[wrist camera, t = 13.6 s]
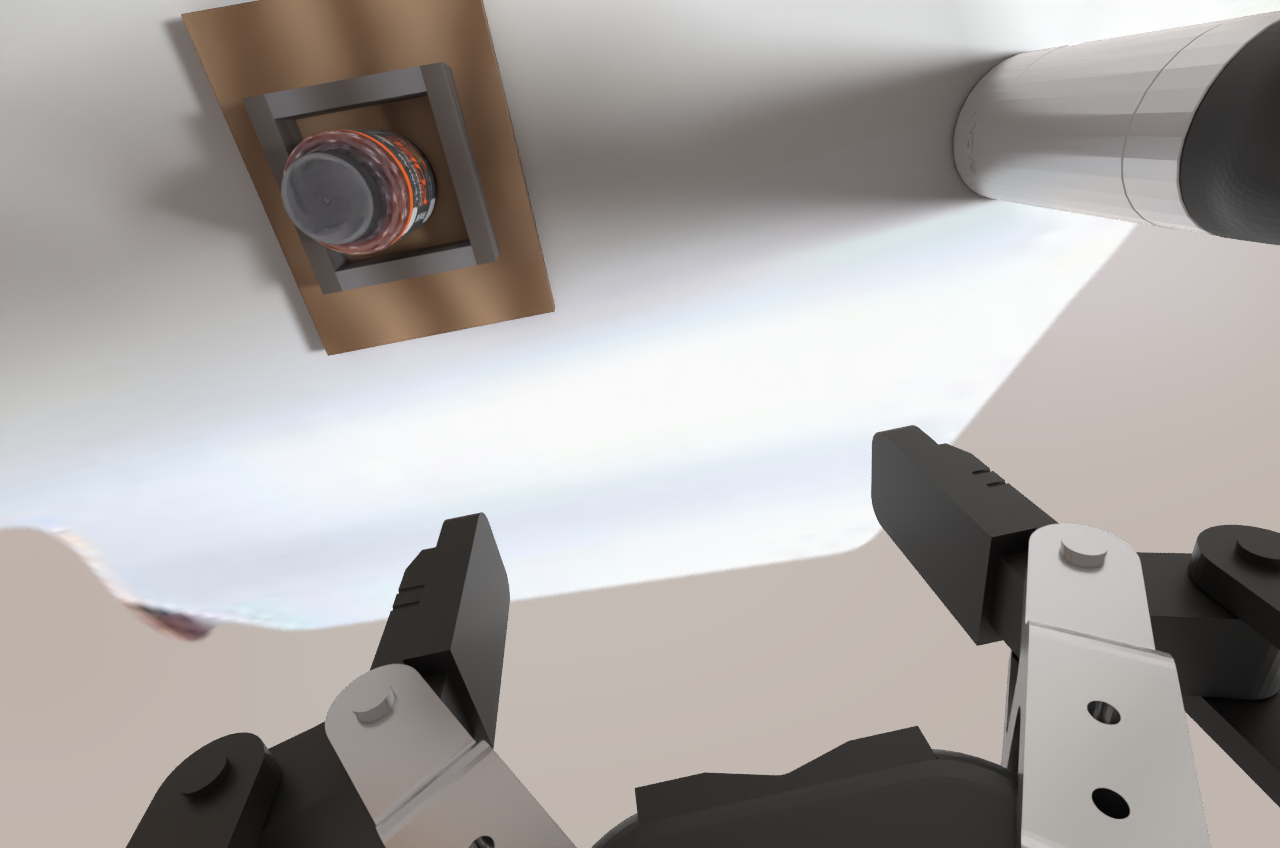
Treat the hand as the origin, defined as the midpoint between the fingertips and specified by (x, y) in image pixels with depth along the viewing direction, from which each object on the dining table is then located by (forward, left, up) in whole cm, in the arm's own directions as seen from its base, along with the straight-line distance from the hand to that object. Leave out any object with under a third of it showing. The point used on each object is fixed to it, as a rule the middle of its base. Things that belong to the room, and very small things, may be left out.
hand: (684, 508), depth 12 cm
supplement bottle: (+12, -6, -32) cm, 35 cm away
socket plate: (+12, -6, -33) cm, 36 cm away
